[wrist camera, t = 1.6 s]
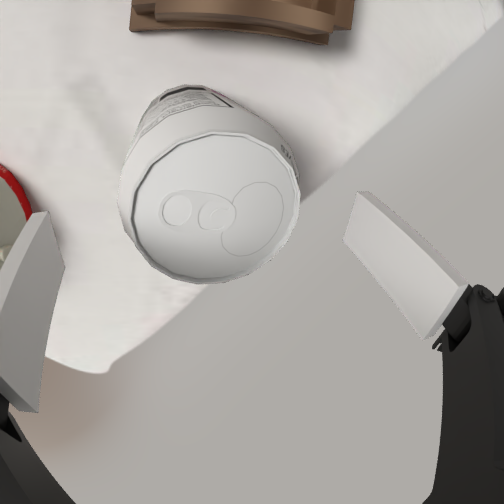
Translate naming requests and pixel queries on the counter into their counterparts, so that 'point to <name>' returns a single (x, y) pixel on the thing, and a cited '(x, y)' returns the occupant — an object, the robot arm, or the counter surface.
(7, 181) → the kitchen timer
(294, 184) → the supplement can
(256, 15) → the brown square open box
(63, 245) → the counter surface
